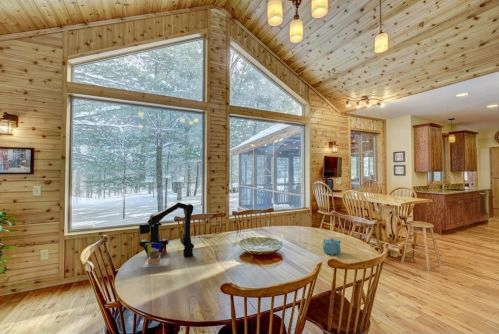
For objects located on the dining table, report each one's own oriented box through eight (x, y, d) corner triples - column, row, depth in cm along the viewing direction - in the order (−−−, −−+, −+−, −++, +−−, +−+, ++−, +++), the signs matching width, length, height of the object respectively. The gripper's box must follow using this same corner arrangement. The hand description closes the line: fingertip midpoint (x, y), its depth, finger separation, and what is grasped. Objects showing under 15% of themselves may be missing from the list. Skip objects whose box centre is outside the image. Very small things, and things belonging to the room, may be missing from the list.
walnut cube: (158, 255, 172) (158, 248, 172) (157, 258, 167) (157, 251, 167) (151, 256, 171) (151, 249, 171) (149, 259, 166) (150, 251, 166)
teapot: (332, 259, 179) (332, 243, 179) (315, 252, 193) (315, 237, 193) (349, 254, 190) (349, 239, 190) (331, 248, 204) (331, 234, 204)
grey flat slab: (170, 259, 176) (170, 257, 176) (167, 266, 162) (167, 265, 162) (146, 260, 173) (146, 259, 173) (142, 268, 159) (142, 267, 159)
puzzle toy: (159, 257, 179) (159, 244, 179) (147, 256, 181) (147, 243, 181) (166, 252, 189) (166, 240, 189) (154, 251, 191) (155, 239, 191)
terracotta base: (160, 259, 173) (160, 255, 173) (158, 263, 166) (158, 258, 166) (150, 260, 172) (150, 255, 172) (148, 263, 165) (148, 259, 165)
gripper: (169, 228, 179) (169, 249, 179) (143, 230, 175) (142, 251, 175) (168, 232, 168) (167, 255, 168) (139, 234, 164) (139, 256, 164)
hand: (154, 254), depth 169 cm, fingers open, 9 cm apart
